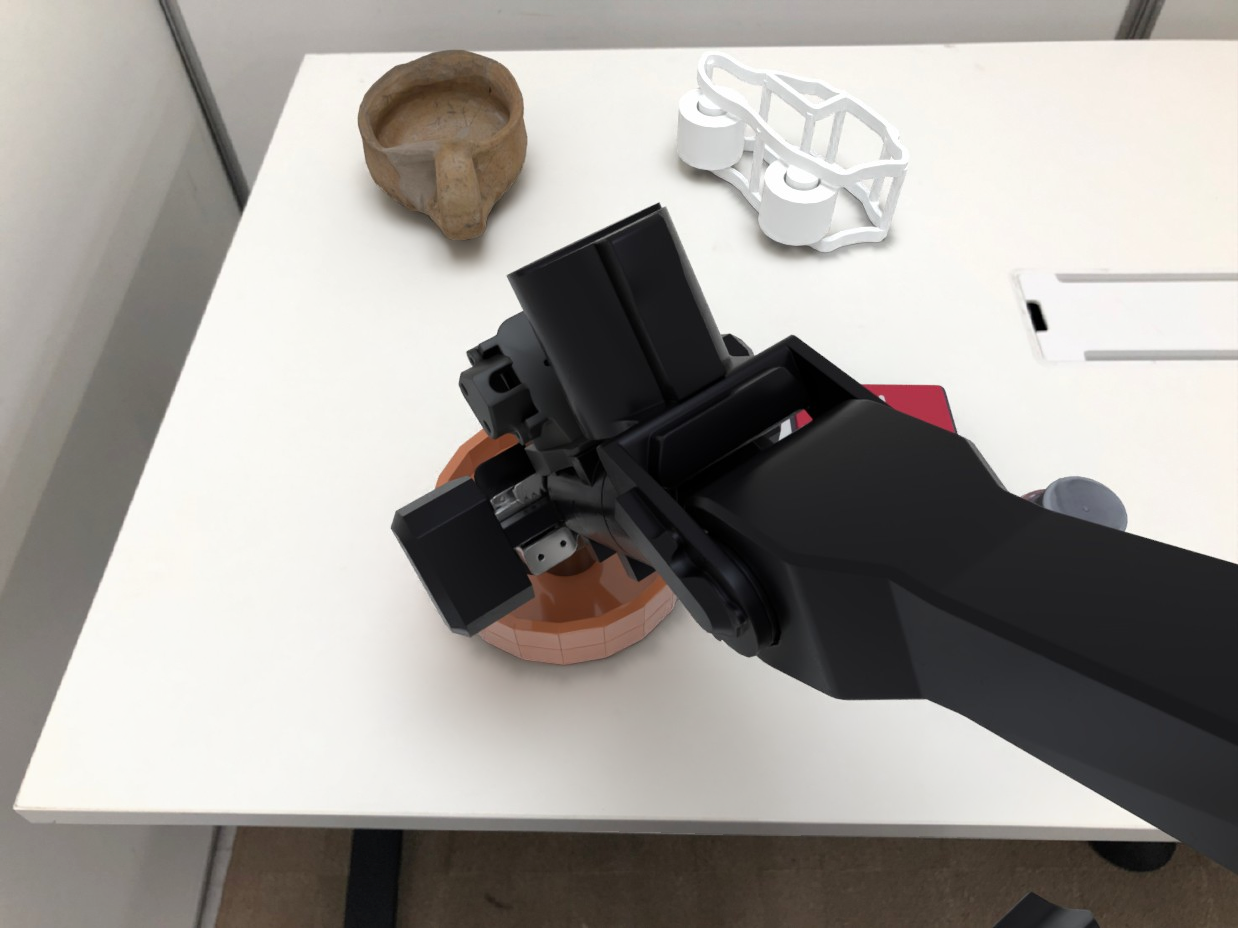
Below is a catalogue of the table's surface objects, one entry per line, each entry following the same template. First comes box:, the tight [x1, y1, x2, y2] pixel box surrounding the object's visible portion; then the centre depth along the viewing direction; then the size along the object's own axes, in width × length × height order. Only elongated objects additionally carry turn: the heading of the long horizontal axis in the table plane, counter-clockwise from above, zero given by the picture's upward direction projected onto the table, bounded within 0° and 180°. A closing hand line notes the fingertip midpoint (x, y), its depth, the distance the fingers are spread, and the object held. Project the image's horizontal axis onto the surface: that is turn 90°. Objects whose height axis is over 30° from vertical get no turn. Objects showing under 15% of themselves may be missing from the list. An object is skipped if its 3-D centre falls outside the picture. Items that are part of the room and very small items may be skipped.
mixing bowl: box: [434, 428, 679, 666], centre depth 52 cm, size 15×15×5 cm
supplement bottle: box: [1020, 475, 1129, 532], centre depth 47 cm, size 6×6×11 cm
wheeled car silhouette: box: [676, 50, 910, 253], centre depth 70 cm, size 20×11×7 cm, turn 33°
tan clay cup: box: [357, 49, 528, 241], centre depth 69 cm, size 18×14×10 cm
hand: (543, 462), depth 48 cm, fingers open, 3 cm apart
